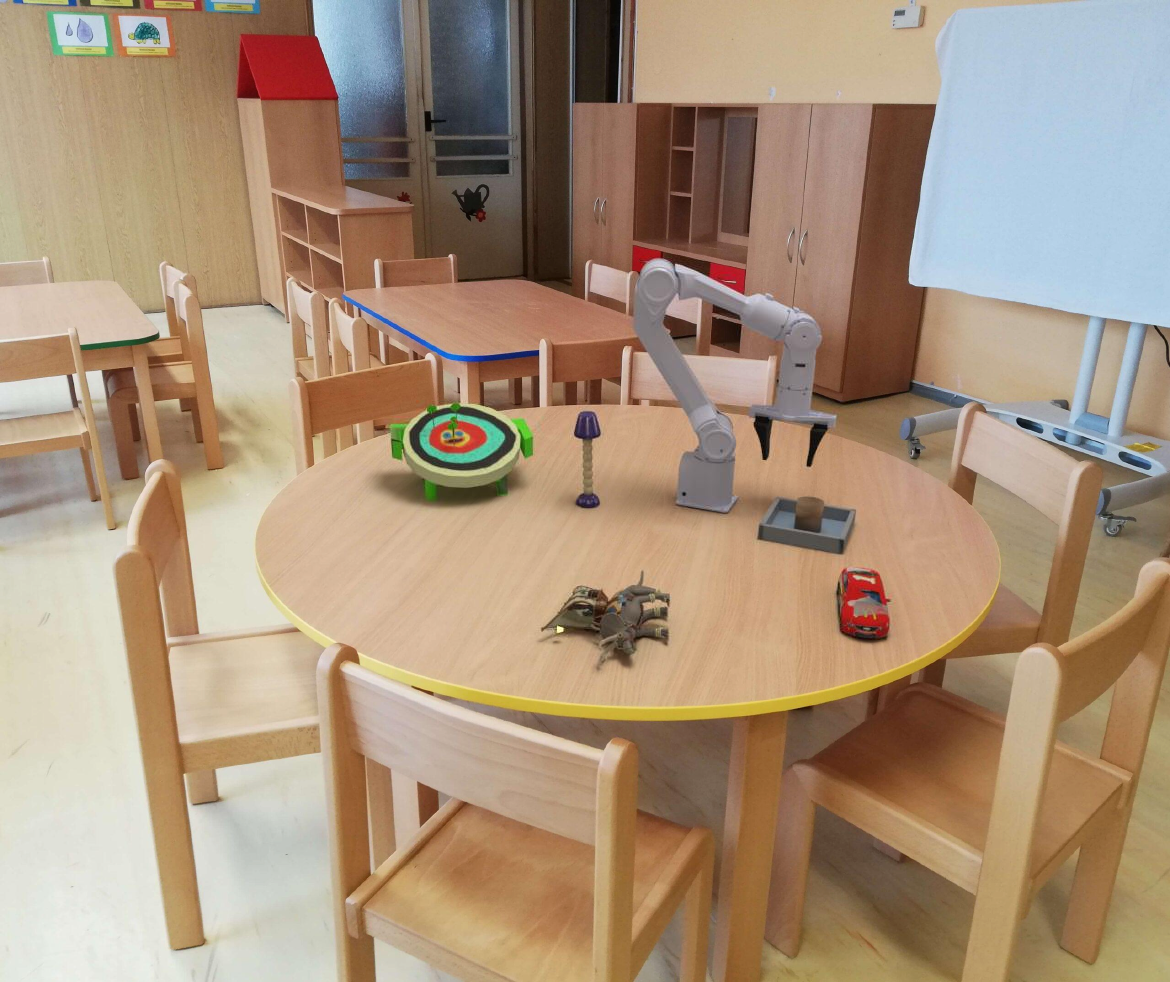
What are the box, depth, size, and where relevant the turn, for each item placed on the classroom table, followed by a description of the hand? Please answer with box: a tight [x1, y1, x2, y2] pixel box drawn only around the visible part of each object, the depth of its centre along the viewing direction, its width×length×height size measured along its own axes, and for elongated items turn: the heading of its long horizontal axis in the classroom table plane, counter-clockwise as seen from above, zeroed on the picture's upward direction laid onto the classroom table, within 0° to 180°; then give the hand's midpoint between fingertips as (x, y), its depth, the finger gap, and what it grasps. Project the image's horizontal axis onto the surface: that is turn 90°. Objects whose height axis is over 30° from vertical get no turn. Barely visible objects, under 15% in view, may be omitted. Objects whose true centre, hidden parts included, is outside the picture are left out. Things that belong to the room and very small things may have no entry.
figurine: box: [540, 570, 671, 668], centre depth 124 cm, size 20×6×17 cm
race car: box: [836, 566, 892, 639], centre depth 130 cm, size 16×7×5 cm, turn 167°
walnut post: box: [794, 496, 825, 533], centre depth 156 cm, size 4×4×5 cm
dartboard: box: [389, 401, 534, 501], centre depth 168 cm, size 25×19×16 cm
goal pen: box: [757, 496, 857, 555], centre depth 156 cm, size 14×14×2 cm
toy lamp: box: [573, 410, 602, 509], centre depth 163 cm, size 5×5×17 cm
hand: (787, 461), depth 163 cm, fingers open, 7 cm apart
